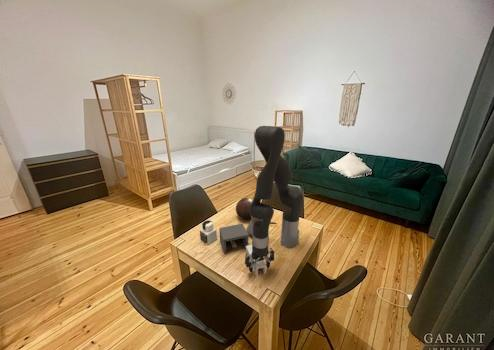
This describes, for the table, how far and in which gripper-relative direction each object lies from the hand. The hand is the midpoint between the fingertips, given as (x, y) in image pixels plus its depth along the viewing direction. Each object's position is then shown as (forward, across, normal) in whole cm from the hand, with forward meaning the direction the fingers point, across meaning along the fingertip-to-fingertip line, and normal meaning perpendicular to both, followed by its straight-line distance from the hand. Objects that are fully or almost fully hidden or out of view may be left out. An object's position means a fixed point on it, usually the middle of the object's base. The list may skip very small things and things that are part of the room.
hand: (259, 269), depth 99 cm
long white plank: (+1, 0, -6) cm, 6 cm away
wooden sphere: (+1, -9, -47) cm, 48 cm away
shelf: (+1, +7, -22) cm, 24 cm away
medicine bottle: (+2, +20, -32) cm, 38 cm away
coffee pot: (+1, -11, -24) cm, 26 cm away
